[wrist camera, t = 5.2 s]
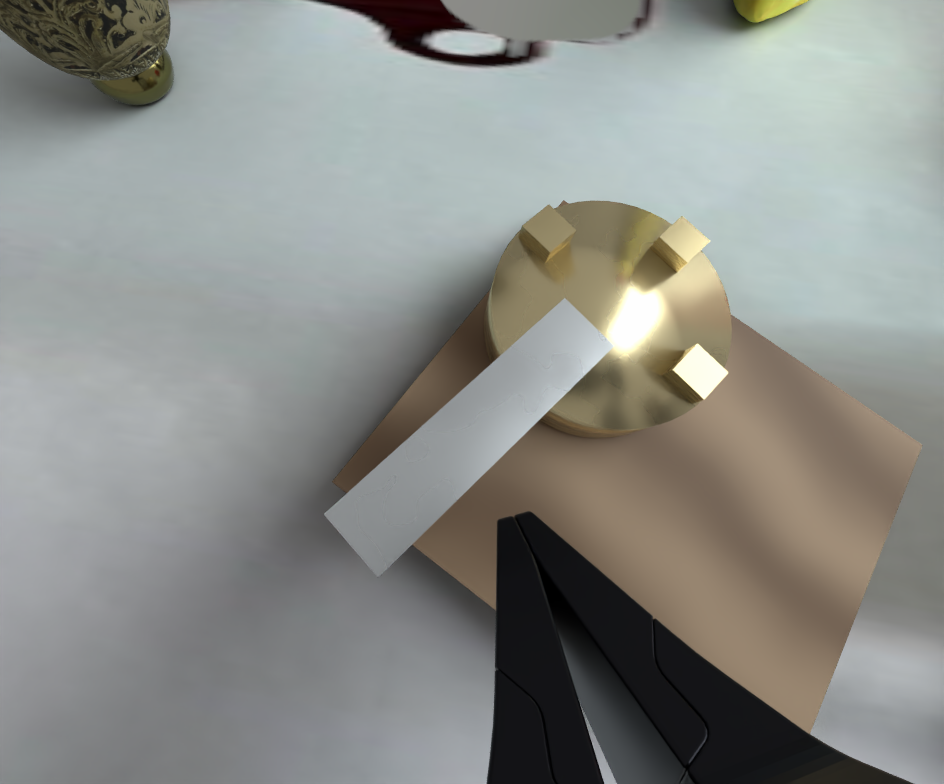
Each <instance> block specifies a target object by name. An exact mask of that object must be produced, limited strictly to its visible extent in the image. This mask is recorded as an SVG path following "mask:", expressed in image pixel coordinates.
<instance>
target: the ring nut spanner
mask: <svg viewBox="0 0 944 784" xmlns="http://www.w3.org/2000/svg"><path fill="white" fill-rule="evenodd" d="M709 242H710V240H709V239H708V238H706V237H705V236H704V235H703V234H702V233H701V232H700V231H699V230H697V229H696V228H695V227H694V226H693V225H692V224H691V223H690V222H689V221H687V220H686V219H685V218H684V217H683V216H681V217H680V218H679V219H678V220H677V221H676V222H675V223H674V224H673V225H672V224H670V223H669V222H667V221H666V220H664V219H662V218H660V217H658V216H656V215H654V214H652V213H650V212H648V211H645V210H643V209H640V208H637V207H634V206H630V205H627V204H623V203H617V202H610V201H583V202H576V203H571V204H566V205H563V206H560V207H557V208H554V209H553V208H552V207H551V206H550V205H547V206H546V207H545V208H544V209H542V210H541V211H540V212H539V213H537V214H536V215H535V216H534V217H533V218H531V219H530V220H529V221H528V222H526V223H525V224H524V225H523V226H522V228H521V230H520V231H519V232H518V233H517V234H516V235H515V237H514V238H513V239H512V240H511V242H510V243H509V244H508V246H507V248H506V249H505V251H504V253H503V255H502V256H501V259H500V261H499V264H498V267H497V269H496V272H495V276H494V280H493V283H492V287H491V290H490V294H489V298H488V301H487V306H486V310H485V317H484V340H485V345H486V350H487V354H488V357H489V360H490V363H491V364H490V365H489V366H488V367H487V368H486V369H485V370H484V371H483V372H482V373H480V374H479V375H478V376H477V377H476V378H475V379H474V380H473V381H472V382H470V383H469V384H468V385H467V386H466V387H465V388H464V389H463V390H461V391H460V392H459V393H458V394H457V395H456V396H455V397H454V398H453V399H451V400H450V401H449V402H448V403H447V404H446V405H445V406H444V407H443V408H441V409H440V410H439V411H438V412H437V413H436V414H435V415H434V416H433V417H431V418H430V419H429V420H428V421H427V422H426V423H425V424H424V425H422V426H421V427H420V428H419V429H418V430H417V431H416V432H415V433H414V434H412V435H411V436H410V437H409V438H408V439H407V440H406V441H405V442H404V443H402V444H401V445H400V446H399V447H398V448H397V449H396V450H395V451H393V452H392V453H391V454H390V455H389V456H388V457H387V458H386V459H385V460H383V461H382V462H381V463H380V464H379V465H378V466H377V467H376V468H375V469H373V470H372V471H371V472H370V473H369V474H368V475H367V476H366V477H364V478H363V479H362V480H361V481H360V482H359V483H358V484H357V485H356V486H354V487H353V488H352V489H351V490H350V491H349V492H348V493H347V494H346V495H344V496H343V497H342V498H341V499H340V500H339V501H338V502H337V503H335V504H334V505H333V506H332V507H331V508H330V509H329V510H328V511H327V512H325V513H324V515H325V517H326V518H327V519H328V520H329V521H330V522H331V524H332V525H333V526H334V527H335V528H336V529H337V531H338V532H339V533H340V534H341V535H342V536H343V538H344V539H345V540H346V541H347V542H348V543H349V545H350V546H351V547H352V548H353V549H354V550H355V552H356V553H357V554H358V555H359V556H360V557H361V559H362V560H363V561H364V562H365V563H366V564H367V566H368V567H369V568H370V569H371V570H372V571H373V573H374V574H375V575H376V576H377V577H379V576H381V575H382V574H383V573H384V572H385V571H386V570H387V569H388V568H389V567H390V566H391V565H392V564H393V563H394V562H395V561H396V560H397V559H398V558H399V557H400V556H401V555H402V554H403V553H404V552H405V551H406V550H407V549H408V548H409V547H410V546H411V545H412V544H413V543H414V542H415V541H416V540H417V539H418V538H419V537H420V536H421V535H422V534H423V533H424V532H425V531H426V530H427V529H428V528H429V527H430V526H432V525H433V524H434V523H435V522H436V521H437V520H438V519H439V518H440V517H441V516H442V515H443V514H444V513H445V512H446V511H447V510H448V509H449V508H450V507H451V506H452V505H453V504H454V503H455V502H456V501H457V500H458V499H459V498H460V497H461V496H462V495H463V494H464V493H465V492H466V491H467V490H468V489H469V488H470V487H471V486H472V485H473V484H474V483H475V482H476V481H477V480H478V479H479V478H480V477H481V476H483V475H484V474H485V473H486V472H487V471H488V470H489V469H490V468H491V467H492V466H493V465H494V464H495V463H496V462H497V461H498V460H499V459H500V458H501V457H502V456H503V455H504V454H505V453H506V452H507V451H508V450H509V449H510V448H511V447H512V446H513V445H514V444H515V443H516V442H517V441H518V440H519V439H520V438H521V437H522V436H523V435H524V434H525V433H526V432H527V431H528V430H529V429H530V428H531V427H532V426H534V425H535V424H536V423H537V422H538V421H540V422H542V423H544V424H545V425H547V426H549V427H551V428H553V429H556V430H559V431H561V432H564V433H567V434H571V435H575V436H579V437H587V438H612V437H618V436H624V435H627V434H630V433H633V432H637V431H640V430H643V429H646V428H650V427H653V426H656V425H659V424H662V423H665V422H669V421H671V420H673V419H675V418H677V417H679V416H681V415H683V414H685V413H687V412H688V411H689V410H691V409H692V408H694V407H695V406H697V405H698V404H699V403H700V402H701V401H702V400H704V399H705V398H706V397H707V396H708V395H709V394H710V393H711V392H712V391H713V389H714V388H715V387H716V386H717V385H718V384H719V383H720V382H721V380H722V379H723V378H724V377H725V376H726V375H727V374H728V373H729V372H727V371H726V370H725V369H724V367H725V365H726V362H727V359H728V356H729V351H730V346H731V335H732V324H731V313H730V308H729V304H728V299H727V296H726V293H725V290H724V288H723V285H722V283H721V281H720V279H719V277H718V275H717V273H716V271H715V269H714V268H713V266H712V265H711V263H710V261H709V260H708V259H707V257H706V256H705V255H704V254H703V252H702V251H701V250H702V249H703V248H704V247H705V246H706V245H707V244H708V243H709Z"/></svg>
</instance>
